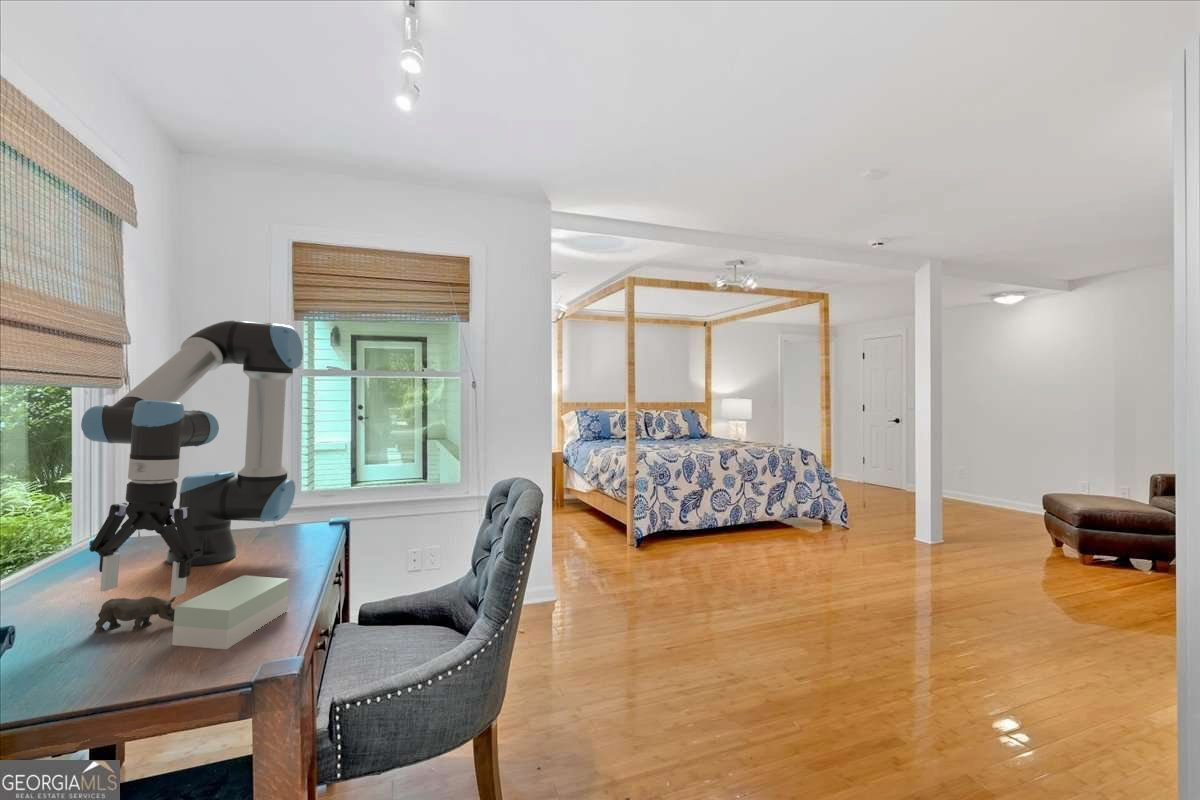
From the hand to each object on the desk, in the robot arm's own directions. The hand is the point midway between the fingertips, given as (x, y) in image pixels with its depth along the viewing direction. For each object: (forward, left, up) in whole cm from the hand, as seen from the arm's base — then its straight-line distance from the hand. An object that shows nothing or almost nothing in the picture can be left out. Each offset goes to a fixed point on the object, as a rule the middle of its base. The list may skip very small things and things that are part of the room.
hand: (143, 592), depth 103 cm
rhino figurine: (0, 0, -7) cm, 7 cm away
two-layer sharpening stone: (-3, +16, -7) cm, 18 cm away
